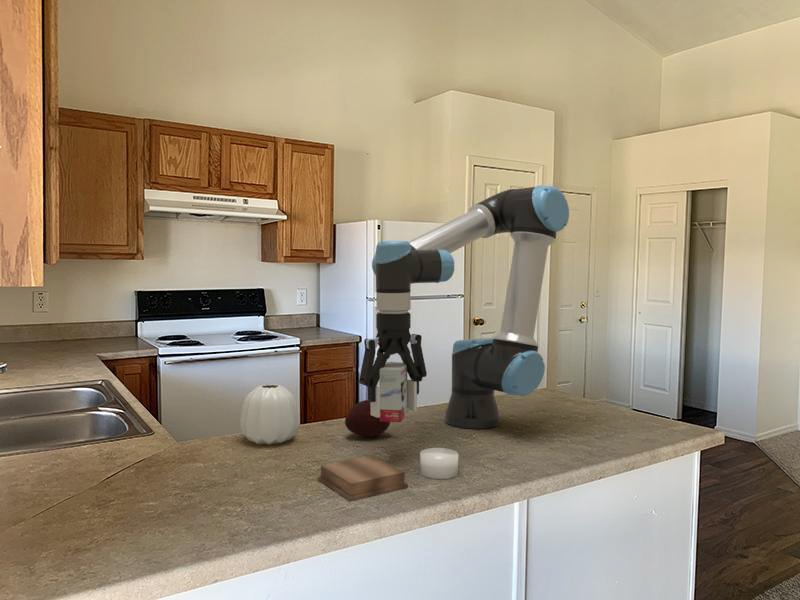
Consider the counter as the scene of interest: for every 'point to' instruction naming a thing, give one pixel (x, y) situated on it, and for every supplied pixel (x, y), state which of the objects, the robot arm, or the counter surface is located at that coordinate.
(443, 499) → the counter surface
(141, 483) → the counter surface
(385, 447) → the counter surface
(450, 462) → the white dome button
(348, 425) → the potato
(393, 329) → the robot arm
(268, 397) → the vase
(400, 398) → the ink box
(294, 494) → the counter surface
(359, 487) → the podium
